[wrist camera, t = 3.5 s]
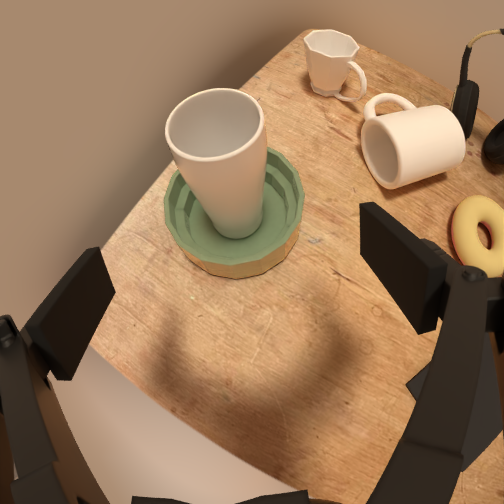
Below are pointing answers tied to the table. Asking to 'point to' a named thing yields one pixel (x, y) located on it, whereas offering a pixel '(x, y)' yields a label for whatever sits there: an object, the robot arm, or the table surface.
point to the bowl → (244, 249)
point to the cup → (332, 62)
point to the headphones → (465, 105)
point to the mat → (476, 406)
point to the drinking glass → (222, 156)
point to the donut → (466, 237)
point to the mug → (410, 141)
